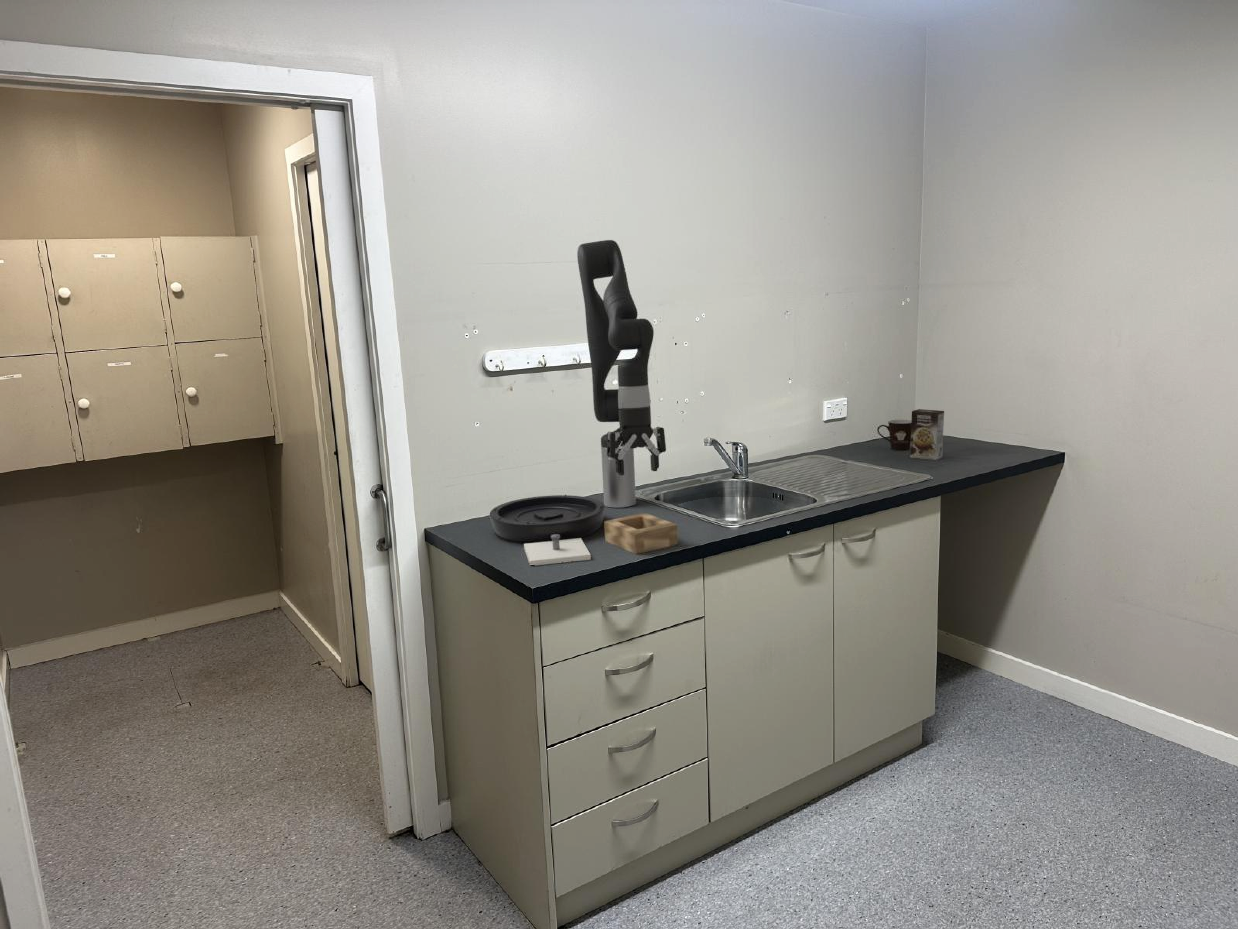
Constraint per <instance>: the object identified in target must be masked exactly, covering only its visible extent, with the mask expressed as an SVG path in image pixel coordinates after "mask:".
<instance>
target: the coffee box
mask: <svg viewBox="0 0 1238 929" xmlns="http://www.w3.org/2000/svg"><path fill="white" fill-rule="evenodd" d="M944 418H945V411H944V410H936V409H935V410H934V409H920V408H917V409H913V410H912V411H911V421H912V422H911V443H910V451H909V452H910V455H909V457H910V458H912V459H921V460H931V461H932V460H935V461H937V460H939V459H941V458H943V449H944V448H943V444H944V443H943V442H944V426H945V424H944V423H945V421H944V420H945V419H944Z"/></svg>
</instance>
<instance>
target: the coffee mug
mask: <svg viewBox="0 0 1238 929" xmlns="http://www.w3.org/2000/svg"><path fill="white" fill-rule="evenodd" d="M911 422H912V419H911V420H909V419H891V420H888V422H887V423H888V425H886V424H880V425H879V426H878V427H877V428H876V429H877V433H878V435H879V436H880V437H881V438H883V439H884V440H886V441H888V442H889V443H890V450H892V451H899V452H901V451H902V452H903V451H909V450H911ZM883 427H885V428H886V429H887V430H888V432H889V438H887V437H886V436H884V435H883V434H881V432H880V428H883Z"/></svg>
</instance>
